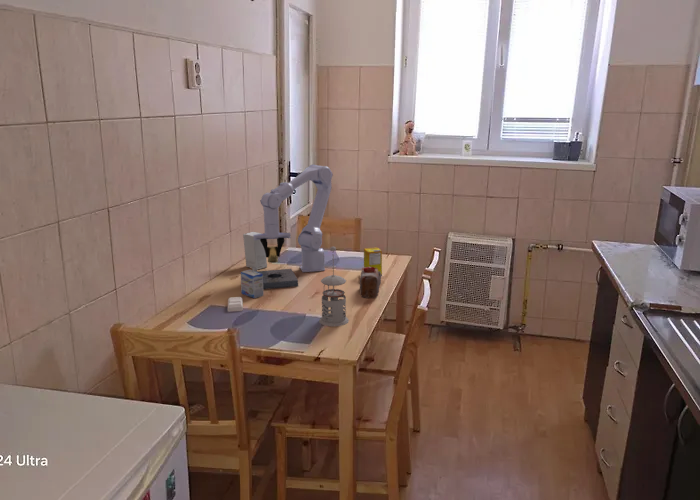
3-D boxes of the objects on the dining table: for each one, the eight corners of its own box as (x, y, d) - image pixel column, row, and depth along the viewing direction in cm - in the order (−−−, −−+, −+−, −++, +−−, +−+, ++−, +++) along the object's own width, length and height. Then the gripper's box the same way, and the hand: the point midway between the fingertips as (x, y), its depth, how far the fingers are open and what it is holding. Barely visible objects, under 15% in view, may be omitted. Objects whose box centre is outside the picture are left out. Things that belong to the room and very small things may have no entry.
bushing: (277, 259, 230) (276, 245, 229) (278, 262, 226) (277, 247, 225) (267, 260, 229) (266, 246, 228) (268, 263, 225) (267, 248, 224)
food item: (360, 286, 218) (360, 261, 216) (380, 286, 218) (381, 262, 216) (359, 298, 205) (359, 272, 203) (381, 298, 205) (381, 272, 202)
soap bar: (242, 302, 202) (242, 295, 202) (242, 311, 194) (242, 304, 193) (228, 303, 201) (228, 296, 201) (227, 312, 193) (227, 305, 192)
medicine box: (241, 294, 210) (239, 271, 208) (250, 291, 214) (249, 269, 211) (254, 298, 205) (253, 276, 203) (264, 295, 208) (262, 273, 206)
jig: (291, 274, 234) (291, 263, 232) (298, 286, 219) (297, 275, 217) (252, 277, 230) (251, 267, 228) (256, 290, 215) (255, 278, 213)
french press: (325, 328, 178) (323, 251, 172) (312, 316, 189) (311, 243, 182) (353, 323, 182) (353, 248, 176) (339, 311, 192) (339, 240, 186)
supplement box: (376, 272, 236) (376, 247, 233) (382, 276, 230) (382, 250, 228) (363, 273, 234) (363, 248, 231) (368, 277, 229) (368, 251, 226)
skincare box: (267, 267, 243) (265, 233, 240) (255, 270, 239) (254, 236, 236) (256, 263, 249) (254, 230, 245) (244, 266, 245) (242, 233, 241)
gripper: (288, 220, 229) (289, 252, 232) (252, 222, 226) (253, 255, 229) (290, 223, 222) (291, 257, 226) (253, 225, 219) (255, 259, 222)
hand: (272, 256), depth 227 cm, fingers closed on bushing, 4 cm apart
